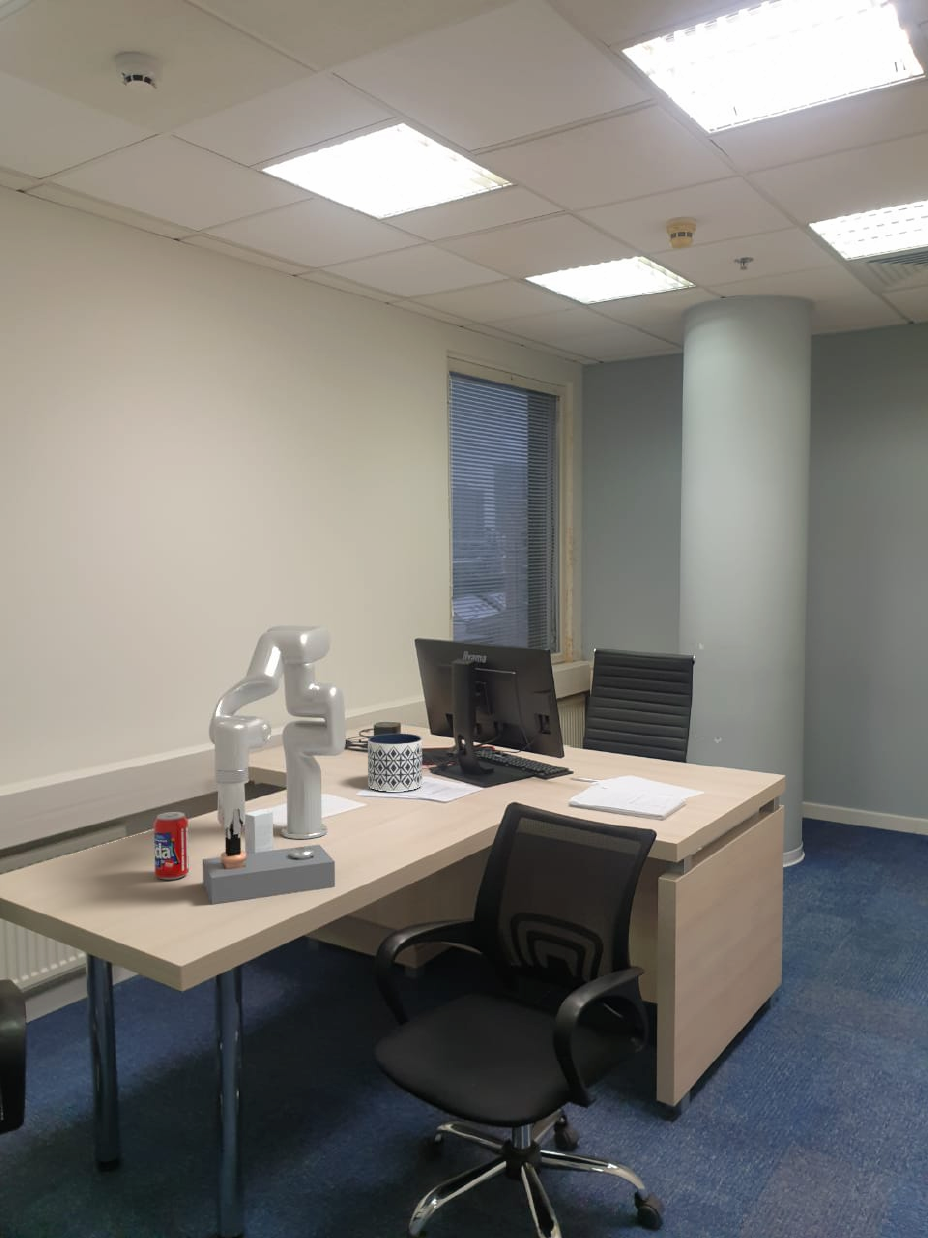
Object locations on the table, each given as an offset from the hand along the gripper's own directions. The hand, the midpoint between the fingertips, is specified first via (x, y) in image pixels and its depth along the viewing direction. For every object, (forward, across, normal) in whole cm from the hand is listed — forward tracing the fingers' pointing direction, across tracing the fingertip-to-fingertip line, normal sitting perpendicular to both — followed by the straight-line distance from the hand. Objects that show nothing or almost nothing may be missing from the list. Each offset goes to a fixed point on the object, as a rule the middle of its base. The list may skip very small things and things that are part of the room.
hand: (233, 854), depth 214 cm
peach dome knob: (+6, 0, 0) cm, 6 cm away
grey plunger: (+8, 0, +16) cm, 18 cm away
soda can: (+9, -16, -12) cm, 22 cm away
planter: (+8, -78, +67) cm, 103 cm away
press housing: (+9, 0, +8) cm, 12 cm away
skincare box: (+9, -21, +10) cm, 25 cm away
